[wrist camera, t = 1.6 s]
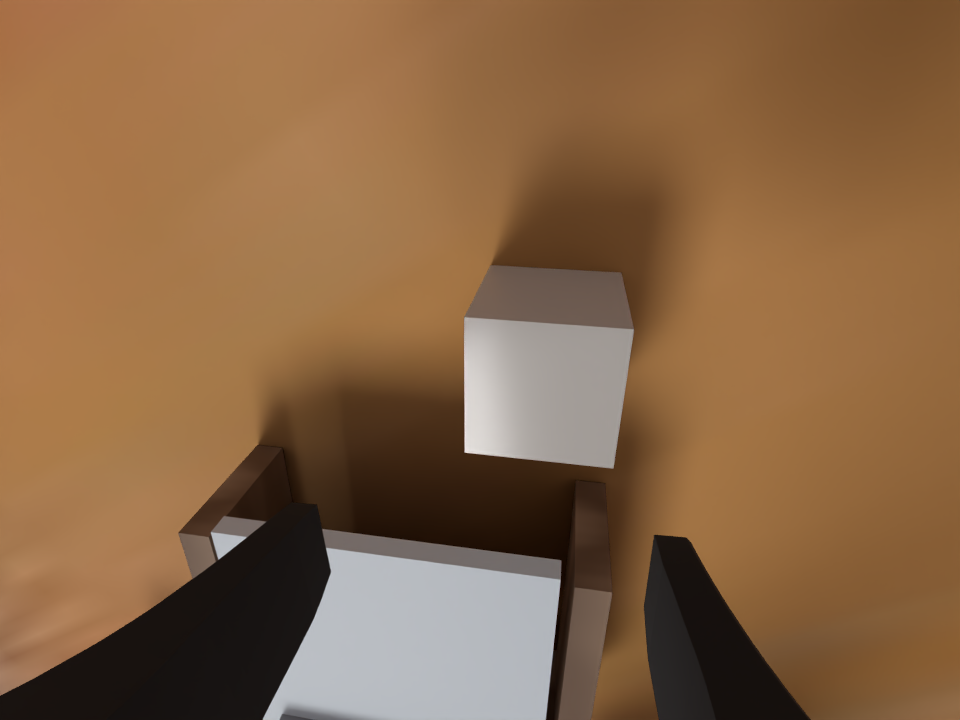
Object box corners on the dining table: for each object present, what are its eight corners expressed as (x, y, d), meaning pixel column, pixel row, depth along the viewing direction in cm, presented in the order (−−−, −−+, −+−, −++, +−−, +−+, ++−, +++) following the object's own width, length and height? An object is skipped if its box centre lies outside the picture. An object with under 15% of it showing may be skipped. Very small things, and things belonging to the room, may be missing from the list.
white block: (621, 272, 19) (634, 329, 14) (606, 387, 21) (613, 468, 16) (491, 264, 19) (464, 317, 15) (488, 376, 21) (464, 452, 17)
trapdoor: (561, 560, 18) (559, 612, 16) (539, 766, 23) (536, 821, 21) (224, 515, 20) (188, 558, 18) (276, 717, 25) (253, 765, 23)
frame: (605, 483, 22) (612, 592, 18) (578, 670, 28) (578, 793, 23) (257, 445, 25) (178, 532, 20) (295, 625, 30) (239, 729, 25)
